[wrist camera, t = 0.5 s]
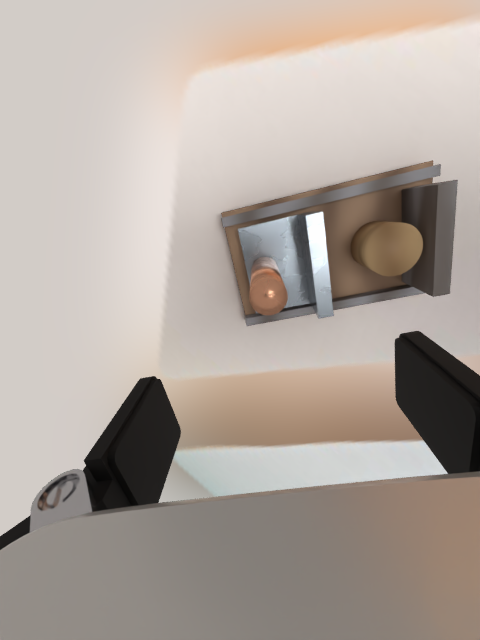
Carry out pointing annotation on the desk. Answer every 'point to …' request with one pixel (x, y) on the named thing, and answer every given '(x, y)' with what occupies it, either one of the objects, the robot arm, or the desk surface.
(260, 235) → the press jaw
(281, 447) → the desk surface
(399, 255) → the tan round peg
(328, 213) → the press base
